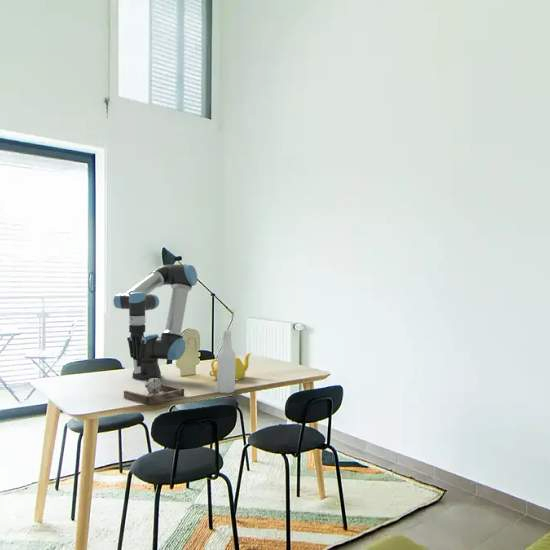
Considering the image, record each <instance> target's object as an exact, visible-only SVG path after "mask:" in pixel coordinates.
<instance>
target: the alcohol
mask: <svg viewBox="0 0 550 550" xmlns="http://www.w3.org/2000/svg"><path fill="white" fill-rule="evenodd" d="M221 344H222V346H221V349H220V350H219V352H218V354H217V359H218V365H217V379H216V391H217V392H218V393H220V394H233V393H234V392H235V391H236V381H235V364H236V357H237V355H236V353H235V351H234V350H233V347H232V330H231V329H223V330H222V343H221Z"/></svg>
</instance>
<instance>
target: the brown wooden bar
mask: <svg viewBox="0 0 550 550" xmlns="http://www.w3.org/2000/svg"><path fill="white" fill-rule="evenodd" d="M162 386H163V387H161V389H160V392H162V391H163V392H162V393H160V394H158V393H156V394H151V395H145V394H141V393H138V392H134V391H130V390H124V391H123V398H124V397H125V398H124V399H127V398H128V400H131V401H135V402H138V403H143V404H146V405H150V404H154V403H158V402H164V401H167V400H171V399H177V398H180V397H181V398H182V397H184V396H185V389H184V388H180V387H177V386H171V385H168V384H163V385H162Z"/></svg>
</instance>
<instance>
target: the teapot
mask: <svg viewBox="0 0 550 550" xmlns="http://www.w3.org/2000/svg"><path fill="white" fill-rule="evenodd" d="M251 355H252V352H249V353H247V354H246V355H245V357H244V360H243V361H244V362H242V360H241V359H240V357H239V356H236V364H235V380H236V379H241V378H242V379H243V378H244V377H245V376H246V371H247V370H248V369H249V359H250V356H251ZM215 362H216V363H215ZM210 363H211V364H210V366H211V371H210V372H209V376H210V377H214V378H215V379H216V380H217V365H218V358H215V359H213V360H212V361H211V362H210ZM214 364H215V365H214ZM242 379H241V380H242ZM236 381H237V380H236Z"/></svg>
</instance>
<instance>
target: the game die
mask: <svg viewBox="0 0 550 550" xmlns="http://www.w3.org/2000/svg"><path fill="white" fill-rule="evenodd" d="M148 378H149V377H148ZM160 378H161V377H159V378H149V379H148V381H147V383H146V384H145V385H144V388H146V390H147V392H148V395H147V396H150V395H156V394H161V393H160V392H161V391H160V389H161V387H163V386H162V385H164V384H162V382H161V380H160Z"/></svg>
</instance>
